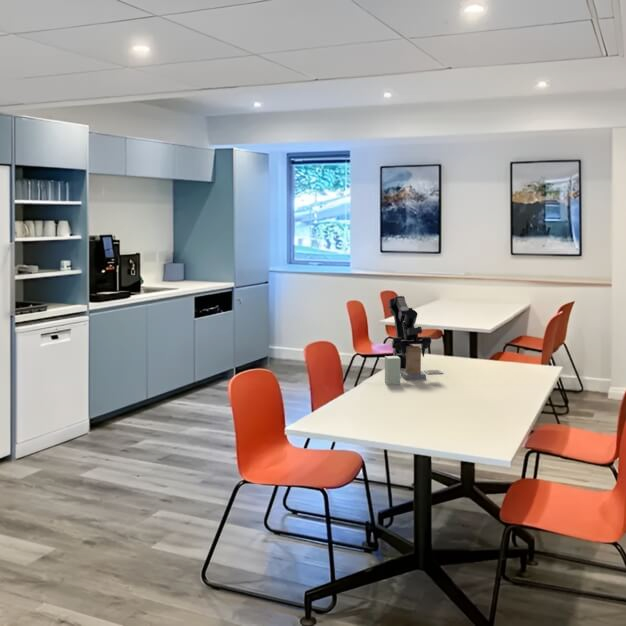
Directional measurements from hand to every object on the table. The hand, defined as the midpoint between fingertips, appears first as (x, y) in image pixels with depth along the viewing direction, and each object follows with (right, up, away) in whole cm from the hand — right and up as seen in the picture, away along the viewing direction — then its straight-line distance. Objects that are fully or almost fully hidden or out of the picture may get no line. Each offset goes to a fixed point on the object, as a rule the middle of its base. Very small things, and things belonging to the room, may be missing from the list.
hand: (414, 356), depth 362 cm
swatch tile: (+12, -9, +14) cm, 20 cm away
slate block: (0, -11, +3) cm, 11 cm away
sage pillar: (-12, -12, -10) cm, 19 cm away
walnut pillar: (0, -8, +2) cm, 8 cm away
